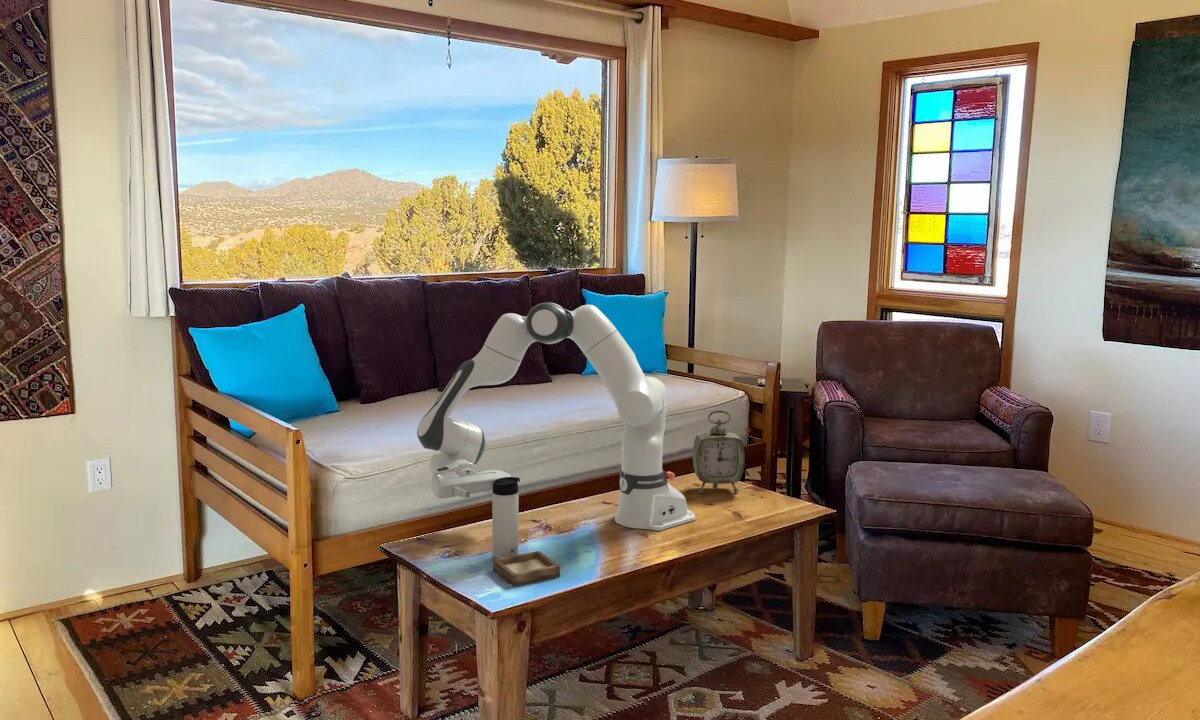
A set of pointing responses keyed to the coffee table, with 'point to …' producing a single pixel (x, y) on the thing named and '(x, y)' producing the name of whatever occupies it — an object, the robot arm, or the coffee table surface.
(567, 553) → the coffee table surface
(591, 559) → the coffee table surface
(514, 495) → the travel mug
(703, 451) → the tabletop clock
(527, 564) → the tray
